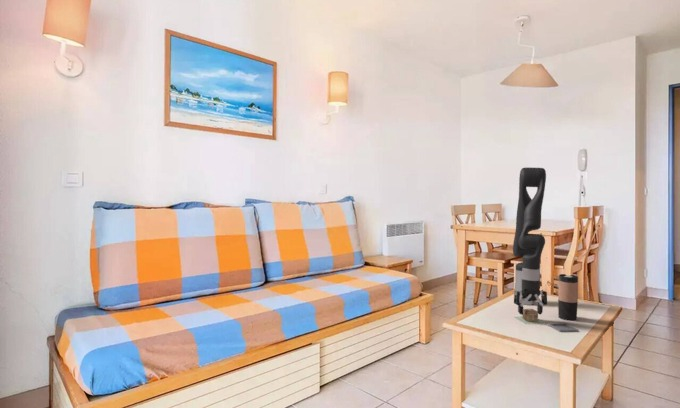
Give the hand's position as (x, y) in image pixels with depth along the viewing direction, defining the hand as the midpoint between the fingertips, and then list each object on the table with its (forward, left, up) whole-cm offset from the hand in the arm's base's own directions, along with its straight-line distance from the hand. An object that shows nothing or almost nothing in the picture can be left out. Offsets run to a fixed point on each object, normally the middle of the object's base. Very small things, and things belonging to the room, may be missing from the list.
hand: (530, 314), depth 172 cm
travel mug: (-2, +19, -3) cm, 19 cm away
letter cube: (0, 0, -3) cm, 3 cm away
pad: (0, 0, -3) cm, 3 cm away
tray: (+11, +8, -3) cm, 14 cm away
